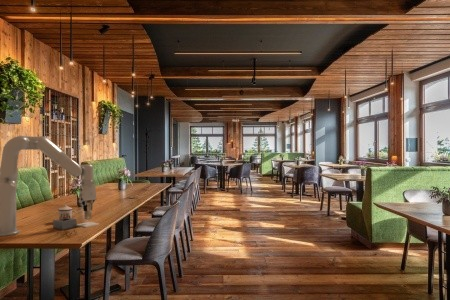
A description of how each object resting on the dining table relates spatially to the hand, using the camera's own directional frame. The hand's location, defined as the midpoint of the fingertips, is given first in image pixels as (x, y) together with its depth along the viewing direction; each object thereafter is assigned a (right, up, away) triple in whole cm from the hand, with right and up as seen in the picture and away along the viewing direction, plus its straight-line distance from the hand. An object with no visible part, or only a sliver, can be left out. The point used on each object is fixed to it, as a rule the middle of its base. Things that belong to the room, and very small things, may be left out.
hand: (87, 210), depth 237 cm
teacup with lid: (-19, -10, +12) cm, 24 cm away
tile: (0, -10, 0) cm, 10 cm away
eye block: (-12, -10, -6) cm, 17 cm away
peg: (0, -6, 0) cm, 6 cm away
